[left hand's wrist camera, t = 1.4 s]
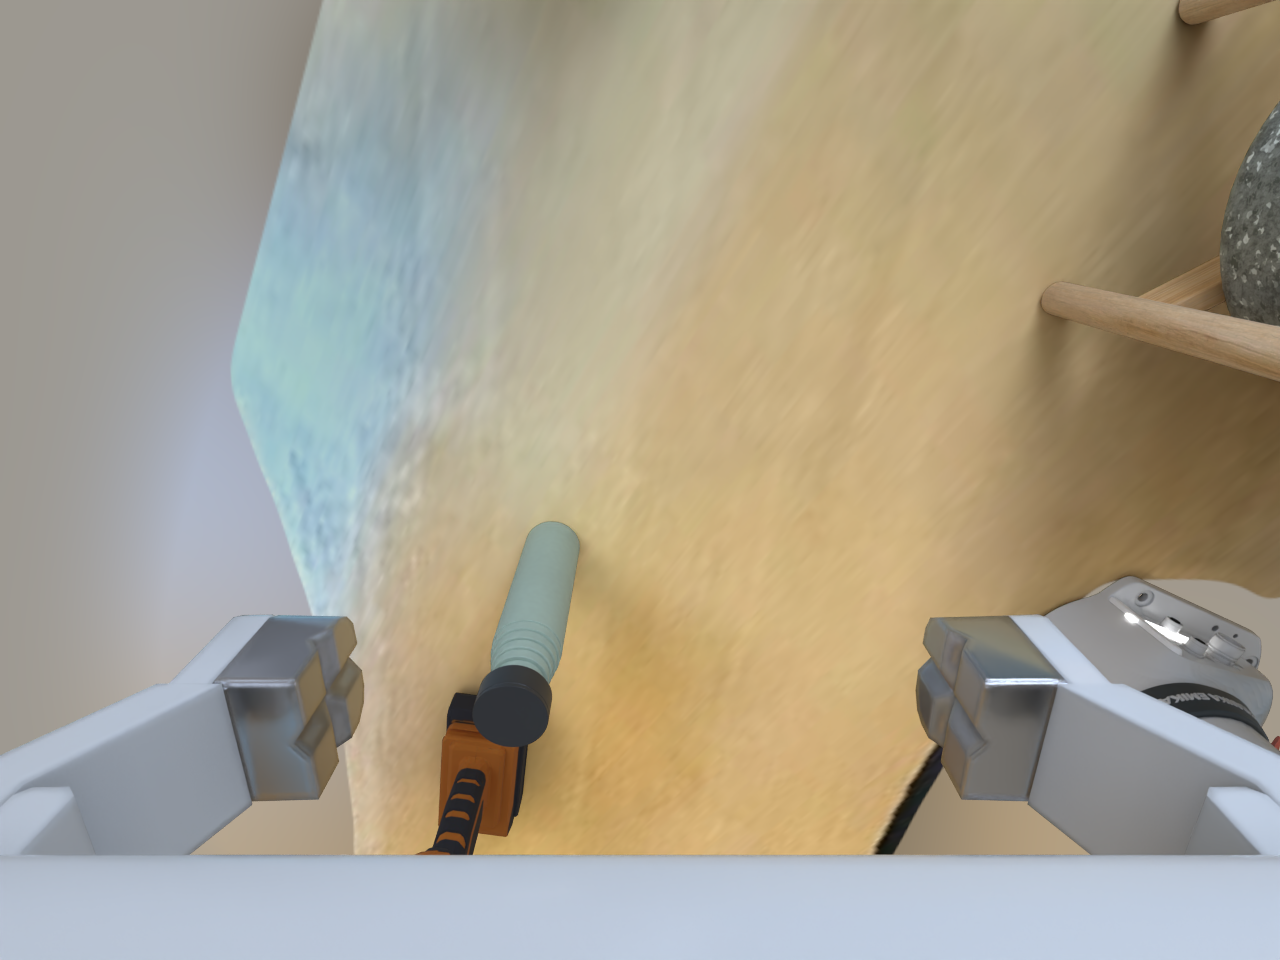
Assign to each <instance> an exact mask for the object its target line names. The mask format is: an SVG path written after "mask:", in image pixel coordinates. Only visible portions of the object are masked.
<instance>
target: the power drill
mask: <svg viewBox="0 0 1280 960" xmlns="http://www.w3.org/2000/svg"><path fill="white" fill-rule="evenodd" d="M476 698H477V695H470V694H463V693H456V694H455V695H454V697H453V699H452V702H451V704H450V707H449V710H448V714H447V732H446V735H445V737H444V738H443V740H442V759H441V780H440V801H439V821H438V826H439V828H438V831H437V835H436V838H435V842H434V845H433V847H432V848H429V849H428V850H426V851H425V852H420V853H418V854H415V855H473V851H474V847H475V844H476V840H477V836H478V833H481V834H489V835H496V836H504V837H506V836H507V835H508V833H509V831H510V828H511V826H512V823H513V819H514V817H516V816H517V815H518V812H519V808H520V804H521V800H522V794H523V785H524V776H525V766H526V757H527V747H528V745H525V746H520V747H505V746H500V745H497V744H494V743H492V742H490V741H489V740H487V739H486V738H485V737H483V736H482V735H481V734H480V733H479V731H478V730H477V728H476V727H475V724H474V722H473V716H472V712H473V707H474V704H475V701H476Z"/></svg>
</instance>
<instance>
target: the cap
mask: <svg viewBox="0 0 1280 960" xmlns="http://www.w3.org/2000/svg"><path fill="white" fill-rule="evenodd" d="M551 702H552V691H551V688H550V686H549V684H548V682H547V681H546V679H545V678H544V677H543V676H542V675H541V674H540V673H538V672H537V671H535V670H533V669H531V668H529V667H525V666H521V665H506V666H502V667H499V668H497V669H495V670H493V671H491V672H490V673H489V674H488V675H487V676H486V677H485V678H484V679H483V681H482V683H481V685H480V688H479V691H478V695H477V698H476V701H475V704H474V707H473V712H472V716H473V722H474V724H475V727H476V728H477V730H478V731H479V733H480V734H481V735H482V736H483V737H485V738H486V739H487V740H489V741H490V742H492V743H494V744H497V745H500V746H505V747H520V746H525V745H528V744H530V743H532V742H534V741H536V740H537V739H538V738H539V737H540V736H541V735H542V734H543V733H544V732H545V730H546V728H547V725H548V719H549V714H550V708H551Z"/></svg>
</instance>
